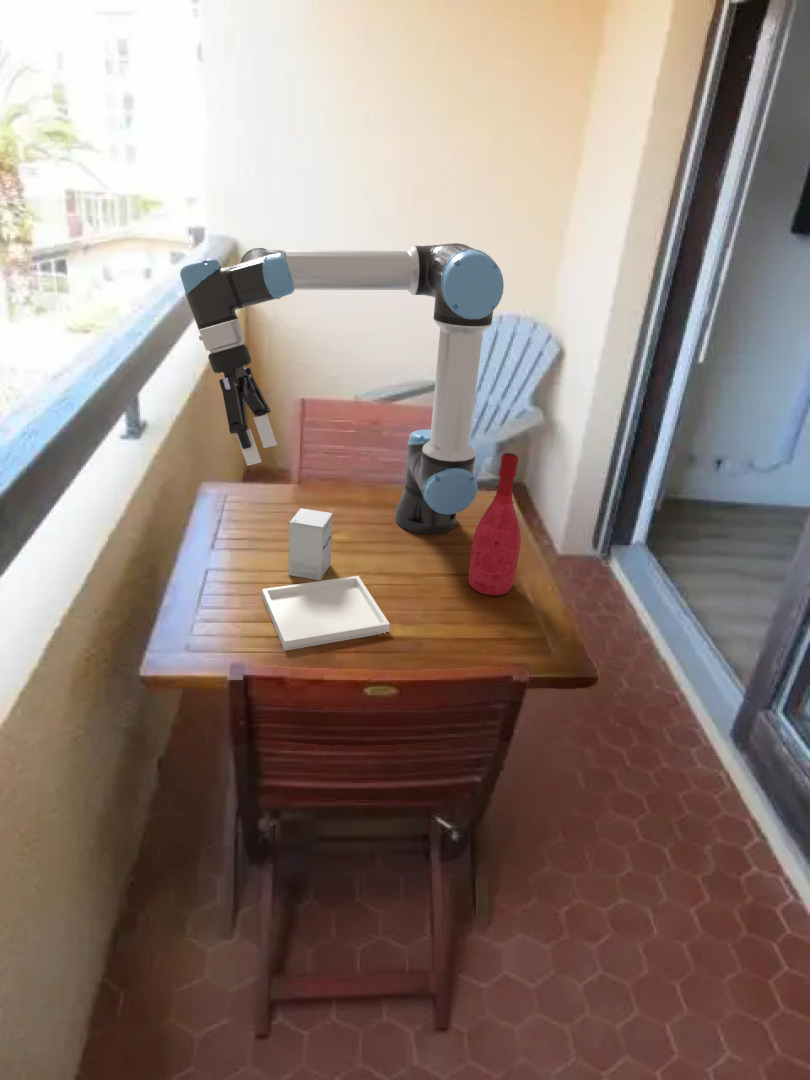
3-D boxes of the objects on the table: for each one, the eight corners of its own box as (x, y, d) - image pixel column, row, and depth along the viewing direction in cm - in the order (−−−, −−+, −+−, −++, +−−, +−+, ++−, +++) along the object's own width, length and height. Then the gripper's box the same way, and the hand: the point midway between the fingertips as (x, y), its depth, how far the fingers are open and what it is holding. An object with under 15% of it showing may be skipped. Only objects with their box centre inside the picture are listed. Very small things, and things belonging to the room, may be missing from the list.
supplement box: (321, 581, 149) (323, 527, 143) (287, 575, 150) (287, 521, 144) (331, 564, 156) (333, 512, 150) (299, 559, 157) (299, 506, 151)
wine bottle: (516, 580, 156) (539, 451, 142) (507, 602, 148) (530, 467, 134) (473, 570, 158) (491, 441, 144) (461, 591, 150) (479, 457, 136)
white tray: (357, 583, 149) (358, 575, 148) (389, 632, 135) (389, 623, 134) (262, 597, 142) (262, 589, 141) (284, 650, 127) (284, 641, 127)
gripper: (226, 345, 147) (259, 444, 154) (185, 361, 124) (227, 476, 131) (260, 336, 146) (292, 435, 153) (226, 350, 123) (266, 467, 130)
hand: (262, 454), depth 142 cm, fingers open, 13 cm apart
